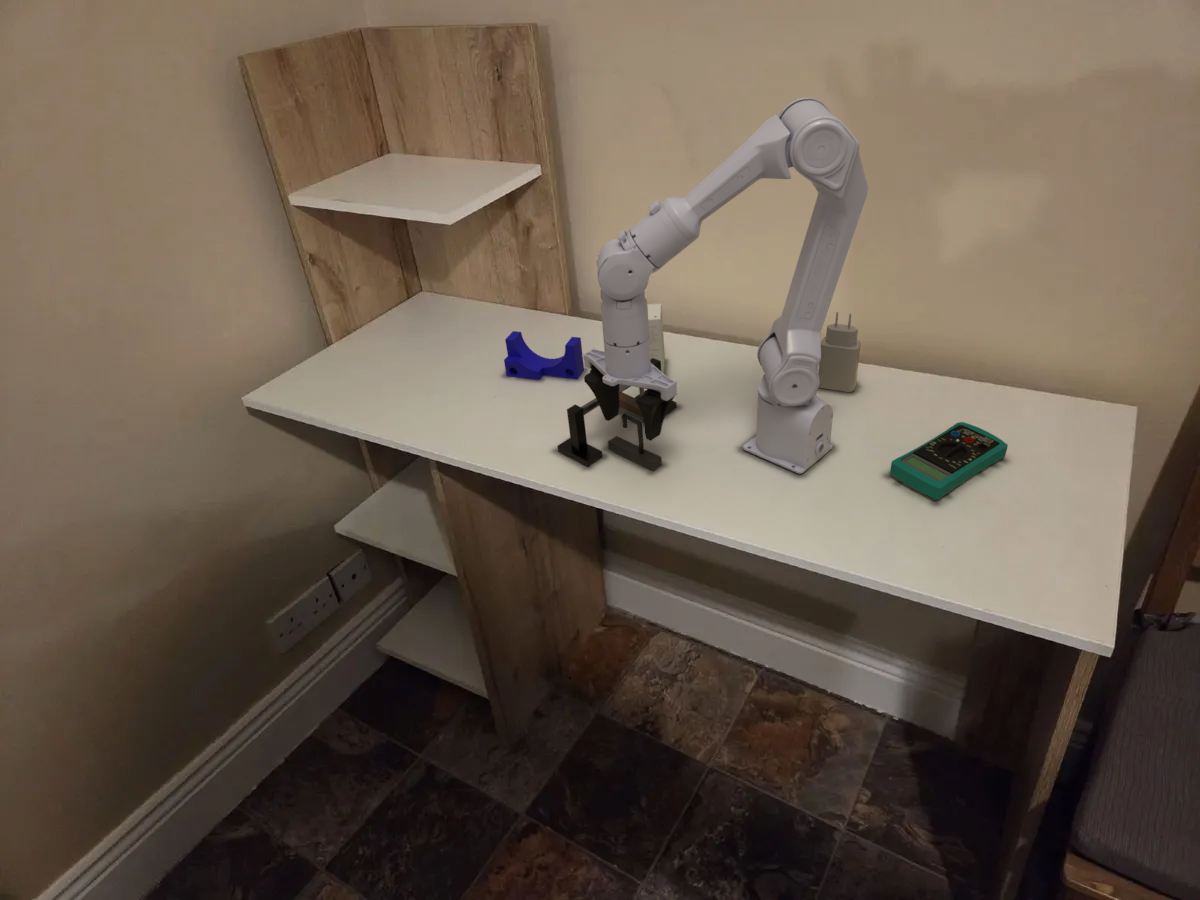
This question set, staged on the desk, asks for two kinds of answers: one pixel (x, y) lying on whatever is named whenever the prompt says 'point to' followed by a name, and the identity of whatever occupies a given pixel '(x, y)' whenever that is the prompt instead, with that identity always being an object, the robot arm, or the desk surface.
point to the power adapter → (839, 357)
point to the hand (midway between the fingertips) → (632, 426)
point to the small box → (656, 333)
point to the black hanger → (634, 447)
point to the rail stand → (577, 441)
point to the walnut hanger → (630, 402)
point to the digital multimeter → (948, 459)
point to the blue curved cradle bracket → (542, 360)
